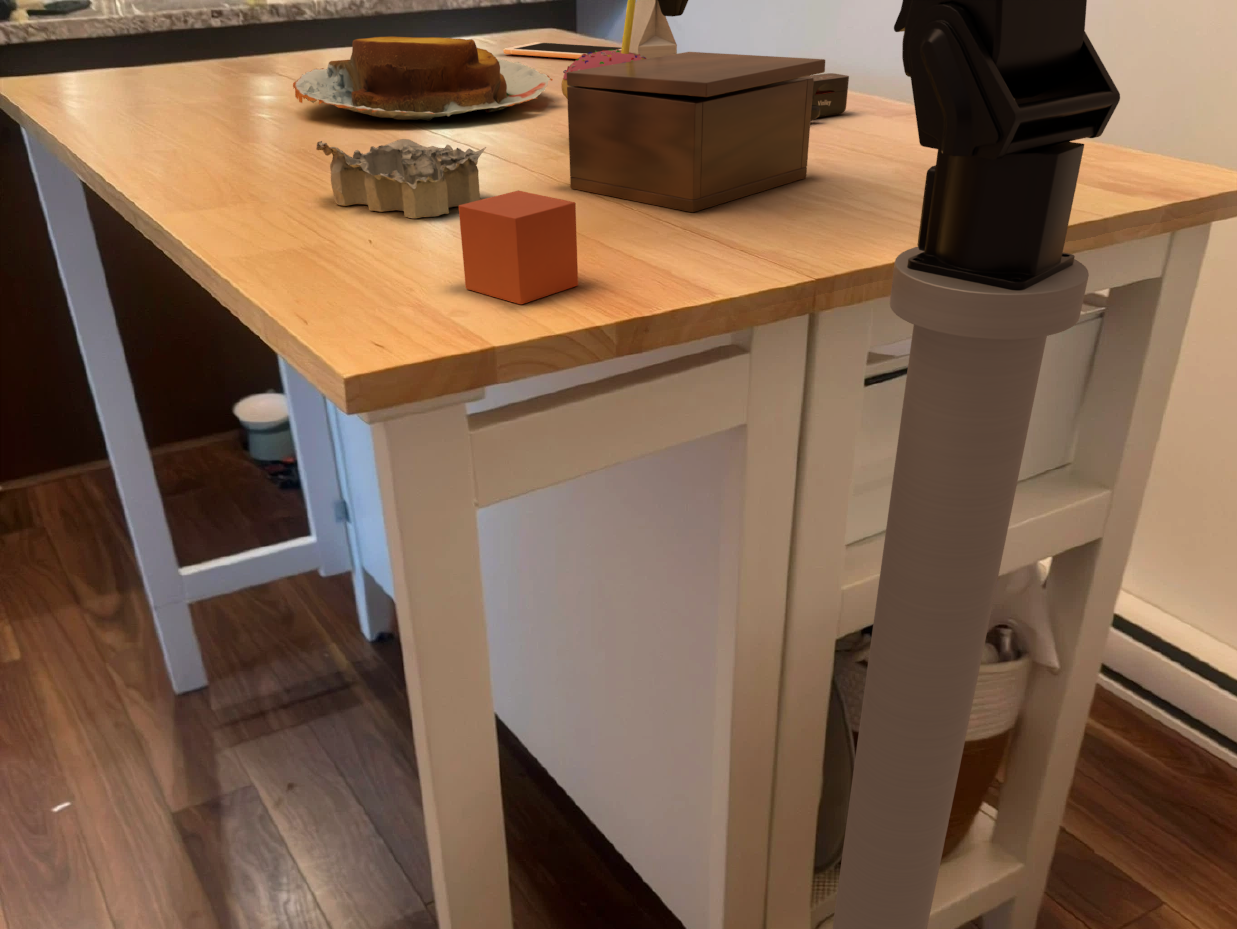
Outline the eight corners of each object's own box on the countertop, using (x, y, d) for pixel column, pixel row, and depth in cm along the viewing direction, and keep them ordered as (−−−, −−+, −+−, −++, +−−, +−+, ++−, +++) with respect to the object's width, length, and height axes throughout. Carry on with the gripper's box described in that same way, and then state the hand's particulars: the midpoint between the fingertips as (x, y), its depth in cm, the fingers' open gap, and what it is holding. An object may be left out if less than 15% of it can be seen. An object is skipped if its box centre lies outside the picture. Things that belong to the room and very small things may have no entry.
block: (578, 285, 64) (575, 202, 62) (520, 305, 62) (515, 218, 59) (523, 271, 67) (518, 190, 64) (465, 288, 64) (457, 205, 62)
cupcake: (667, 133, 101) (668, -24, 95) (657, 152, 94) (657, -15, 88) (571, 132, 102) (566, -23, 96) (554, 151, 95) (547, -15, 89)
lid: (825, 72, 81) (825, 59, 81) (706, 97, 73) (706, 82, 73) (688, 64, 89) (688, 51, 88) (566, 85, 80) (565, 72, 80)
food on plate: (551, 84, 125) (548, 16, 122) (556, 127, 105) (553, 46, 101) (317, 89, 124) (307, 20, 120) (276, 133, 104) (262, 52, 100)
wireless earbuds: (771, 118, 107) (773, 80, 105) (828, 110, 110) (831, 72, 108) (804, 125, 103) (806, 86, 102) (862, 117, 107) (866, 78, 105)
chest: (806, 178, 86) (814, 77, 82) (692, 212, 78) (695, 103, 74) (686, 158, 92) (688, 64, 89) (570, 188, 84) (566, 86, 80)
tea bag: (638, 116, 108) (637, -5, 103) (622, 105, 114) (621, -11, 108) (675, 114, 109) (677, -6, 103) (658, 103, 114) (659, -12, 109)
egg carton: (317, 203, 82) (307, 141, 79) (394, 183, 87) (387, 124, 84) (422, 223, 76) (415, 157, 74) (498, 201, 81) (494, 139, 79)
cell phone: (608, 61, 139) (608, 55, 139) (502, 54, 146) (501, 48, 146) (641, 54, 144) (641, 48, 144) (536, 47, 151) (536, 41, 151)
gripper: (674, -280, 73) (672, -1, 82) (449, -304, 62) (475, 22, 71) (818, -300, 67) (800, 6, 76) (596, -330, 56) (604, 32, 64)
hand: (672, 15), depth 72 cm, fingers closed
